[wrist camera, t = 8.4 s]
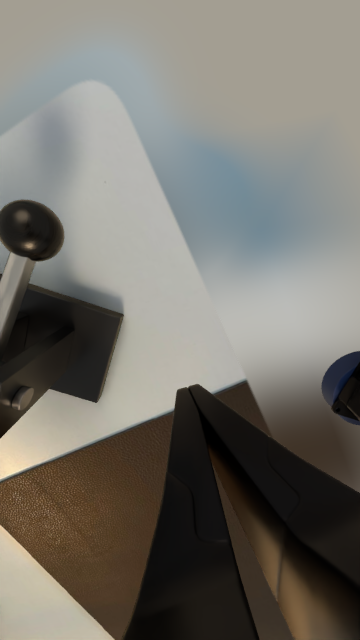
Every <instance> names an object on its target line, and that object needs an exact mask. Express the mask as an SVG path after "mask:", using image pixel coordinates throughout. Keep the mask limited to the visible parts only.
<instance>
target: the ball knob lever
mask: <svg viewBox="0 0 360 640" xmlns="http://www.w3.org/2000/svg"><path fill="white" fill-rule="evenodd" d="M0 241H1V242H2V244H3V245H4V246H5V247H6V248H7V249H8V250H9V251H10V255H9V258H8V260H7V263H6V266H5V269H4V272H3V275H2V277H1V280H0V366H2V365H4V364H5V363H7V362H3V361H1V360H2V357H3V355H4V352H5V349H6V346H7V343H8V340H9V337H10V335H11V332H12V329H13V326H14V323H15V320H16V317H17V314H18V312H19V309H20V306H21V303H22V300H23V297H24V294H25V291H26V289H27V286H28V283H29V280H30V277H31V274H32V271H33V269H34V266H35V263H36V261H45V260H48V259H50V258H52V257H54V256H55V255H56V254H57V253H58V252H59V251H60V250H61V248H62V246H63V243H64V229H63V226H62V224H61V222H60V220H59V218H58V217H57V216H56V214H55V213H54V212H53V211H52V210H50V209H49V208H48V207H46V206H45V205H43V204H41V203H38V202H35V201H32V200H17V201H13V202H10V203H9V204H7V205H5V206H4V207H3V208H2V209H1V211H0Z"/></svg>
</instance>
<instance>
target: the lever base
mask: <svg viewBox="0 0 360 640" xmlns="http://www.w3.org/2000/svg"><path fill="white" fill-rule="evenodd" d="M1 277H2V274H0V280H1ZM123 316H124V315H123V314H120V313H117V312H114V311H111V310H108V309H105V308H102V307H99V306H96V305H93V304H90V303H87V302H84V301H81V300H78V299H75V298H72V297H69V296H66V295H63V294H60V293H57V292H54V291H50V290H47V289H44V288H41V287H38V286H35V285H32V284H29V283H28V286H27V289H26V291H25V294H24V297H23V300H22V303H21V306H20V309H19V312H18V314H17V317H16V320H15V323H14V326H13V329H12V332H11V335H10V337H9V340H8V343H7V346H6V349H5V352H4V355H3V357H2V360H1V361H3V362H7V363H5V364H4V365H2V366H0V438H1V437H2V436H3V435H4V434H5V433H6V432H7V431H8V430H9V429H10V428H11V427H12V426H13V425H14V424H15V423H16V422H17V421H18V420H19V419H20V418H21V417H22V416H23V415H24V414H25V413H26V412H27V411H28V410H29V409H30V408H31V407H32V406H33V405H34V404H35V403H36V402H37V401H38V399H39V398H40V397H41V396H42V395H43V394H44V393H45V392H46V391H47V390H48V389H52V390H56V391H59V392H62V393H66V394H69V395H72V396H75V397H79V398H82V399H85V400H89V401H92V402H95V403H97V402H98V400H99V399H100V397H101V395H102V391H103V387H104V384H105V380H106V377H107V373H108V370H109V366H110V363H111V359H112V355H113V352H114V348H115V345H116V341H117V338H118V334H119V330H120V327H121V323H122V320H123Z"/></svg>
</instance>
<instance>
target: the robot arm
mask: <svg viewBox="0 0 360 640" xmlns="http://www.w3.org/2000/svg"><path fill="white" fill-rule="evenodd" d="M337 408H338V409H337ZM331 410H332V411H333V412H334V413H336V414H338V415H341V416H344V417H347V418H351V419H354V420H357V421H360V362H359V363H358V365H357V366H356V368H355V370H354V371H353V373H352V374H351V376H350V378H349V379H348V381H347V382H346V384H345V386H344V387H343V389H342V390H341V392H340V394H339V395H338V397H337V398H336V400H335V402H334V403H333V405H332V407H331ZM211 462H212V463H211ZM212 464H213V466H214V468H215V470H216V472H217V474H218V477H219V479H220V481H221V483H222V485H223V487H224V489H225V492H226V494H227V496H228V498H229V500H230V502H231V504H232V507H233V509H234V511H235V513H236V515H237V517H238V519H239V522H240V524H241V526H242V528H243V530H244V532H245V534H246V537H247V539H248V541H249V543H250V545H251V547H252V549H253V552H254V554H255V556H256V558H257V560H258V562H259V564H260V567H261V569H262V571H263V573H264V575H265V577H266V579H267V582H268V584H269V586H270V588H271V590H272V592H273V594H274V597H275V599H276V600H277V603H278V605H279V607H280V610H281V612H282V614H283V616H284V618H285V620H286V622H287V625H288V627H289V629H290V631H291V633H292V635H293V637H294V639H295V640H360V493H359V492H357V491H355V490H354V489H352V488H350V487H349V486H347V485H345V484H343V483H342V482H340V481H339V480H337V479H335V478H333V477H332V476H330V475H328V474H326V473H325V472H323V471H322V470H320V469H318V468H317V467H315V466H313V465H312V464H310V463H309V462H307V461H305V460H304V459H302V458H300V457H299V456H297V455H296V454H294V453H293V452H291V451H290V450H288V449H287V448H286V447H284V446H283V445H281V444H280V443H278V442H277V441H276V440H274V439H273V438H272V437H270V436H269V437H268V435H267V434H266V433H265V432H263V431H262V430H260V429H259V428H258V427H256V426H255V425H254V424H252V423H251V422H250V421H248V420H247V419H245V418H244V417H243V416H241V415H240V414H239V413H237V412H236V411H234V410H233V409H232V408H230V407H229V406H228V405H226V404H225V403H224V402H222V401H221V400H219V399H218V398H217V397H215V396H214V395H213V394H211V393H210V392H208V391H207V390H206V389H204V388H203V387H202V386H200V385H199V384H195V385H192V386H189V387H188V388H187V387H185V388H181V389H178V390H177V394H176V401H175V409H174V416H173V424H172V431H171V439H170V446H169V453H168V461H167V468H166V471H167V472H166V475H165V482H164V488H163V494H162V500H161V505H160V510H159V514H158V519H157V523H156V527H155V531H154V535H153V539H152V543H151V547H150V551H149V555H148V558H147V562H146V566H145V570H144V574H143V578H142V582H141V585H140V589H139V593H138V596H137V599H136V602H135V606H134V608H133V611H132V614H131V617H130V620H129V622H128V625H127V627H126V629H125V632H124V634H123V636H122V638H121V640H259V636H258V633H257V630H256V627H255V623H254V620H253V617H252V614H251V610H250V607H249V604H248V601H247V597H246V594H245V591H244V587H243V584H242V581H241V577H240V574H239V570H238V566H237V563H236V559H235V555H234V551H233V547H232V543H231V539H230V535H229V531H228V527H227V523H226V519H225V515H224V511H223V507H222V503H221V499H220V495H219V491H218V487H217V483H216V479H215V475H214V471H213V467H212Z"/></svg>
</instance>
